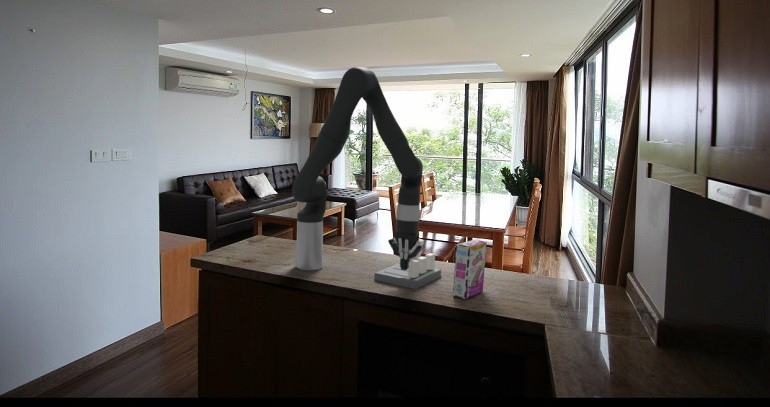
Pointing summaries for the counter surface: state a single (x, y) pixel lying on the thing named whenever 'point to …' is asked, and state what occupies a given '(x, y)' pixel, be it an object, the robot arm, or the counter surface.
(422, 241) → the smoothie
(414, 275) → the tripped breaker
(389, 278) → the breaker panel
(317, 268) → the robot arm
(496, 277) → the counter surface
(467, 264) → the candy bar box
